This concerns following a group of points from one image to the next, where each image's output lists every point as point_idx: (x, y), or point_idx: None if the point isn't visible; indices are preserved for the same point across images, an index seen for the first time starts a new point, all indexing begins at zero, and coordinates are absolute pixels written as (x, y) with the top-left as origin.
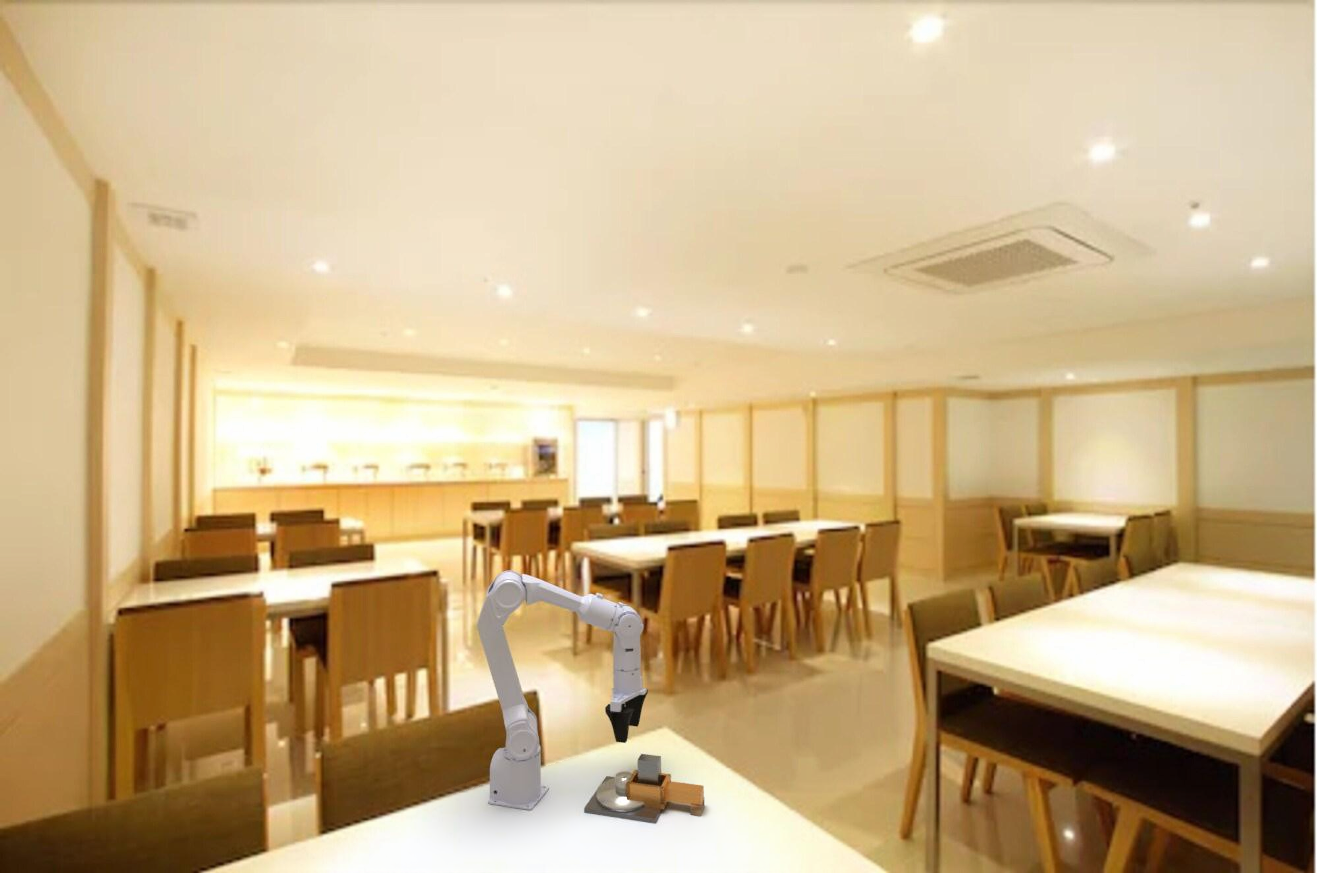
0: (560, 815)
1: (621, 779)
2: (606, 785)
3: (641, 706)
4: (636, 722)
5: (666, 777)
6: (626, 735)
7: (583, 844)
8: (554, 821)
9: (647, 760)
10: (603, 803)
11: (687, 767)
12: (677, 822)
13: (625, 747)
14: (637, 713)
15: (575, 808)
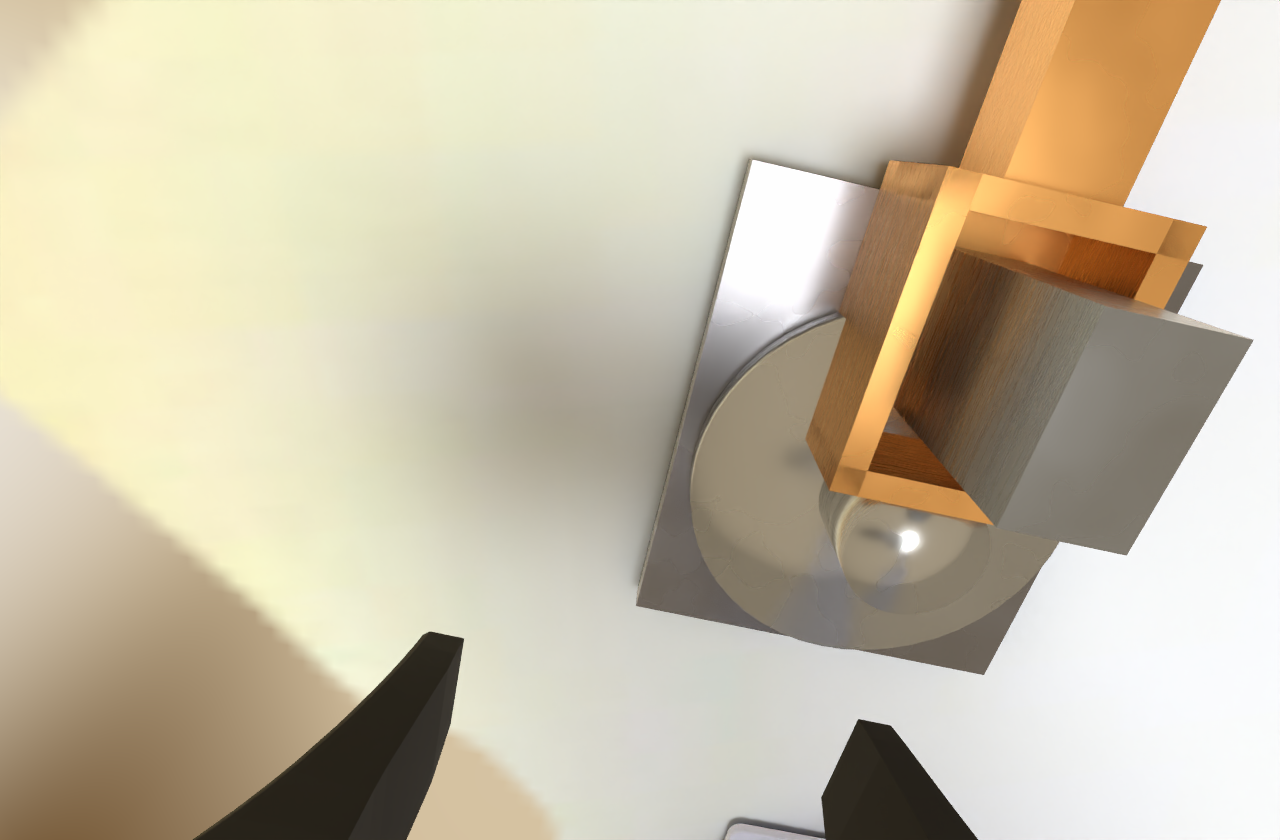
0: (970, 745)
1: (966, 570)
2: (800, 605)
3: (332, 830)
4: (447, 683)
5: (1002, 209)
6: (940, 795)
7: (1254, 624)
8: (1018, 760)
9: (1170, 455)
10: (1003, 599)
11: (394, 29)
12: (1190, 97)
13: (201, 521)
14: (400, 774)
15: (915, 695)
